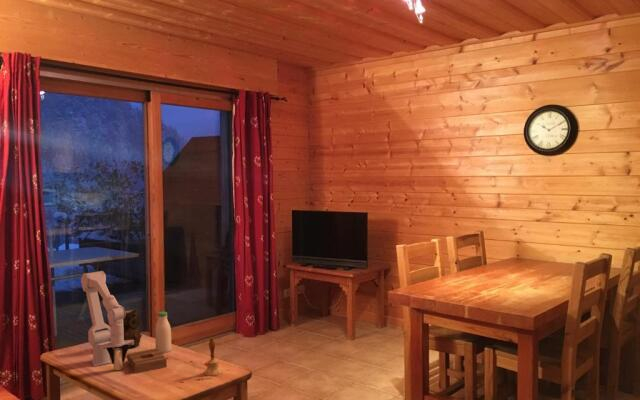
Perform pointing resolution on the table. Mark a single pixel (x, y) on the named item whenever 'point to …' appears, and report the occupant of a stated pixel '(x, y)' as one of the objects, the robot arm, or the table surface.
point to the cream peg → (118, 359)
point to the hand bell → (212, 362)
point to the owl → (131, 328)
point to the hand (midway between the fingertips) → (118, 362)
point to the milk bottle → (163, 333)
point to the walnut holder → (146, 360)
